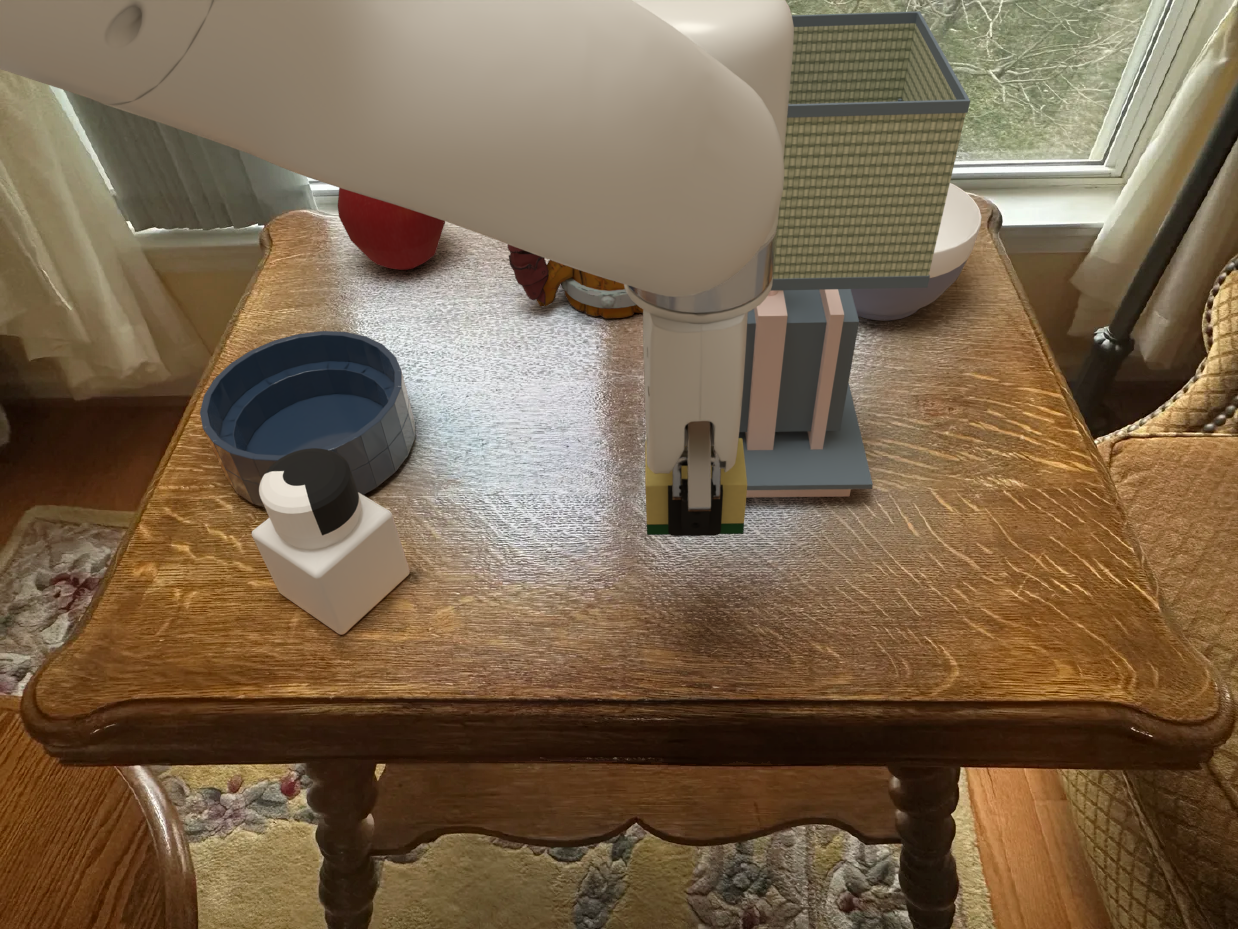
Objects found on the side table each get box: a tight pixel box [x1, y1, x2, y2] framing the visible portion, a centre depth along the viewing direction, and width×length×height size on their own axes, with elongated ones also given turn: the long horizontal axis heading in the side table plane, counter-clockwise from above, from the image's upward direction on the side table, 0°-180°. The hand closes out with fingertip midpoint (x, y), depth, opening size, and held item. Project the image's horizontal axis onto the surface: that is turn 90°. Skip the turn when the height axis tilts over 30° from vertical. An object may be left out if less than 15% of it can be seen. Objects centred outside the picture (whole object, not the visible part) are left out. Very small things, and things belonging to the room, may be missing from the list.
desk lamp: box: [739, 10, 971, 498], centre depth 68 cm, size 18×14×33 cm
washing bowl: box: [199, 330, 416, 508], centre depth 80 cm, size 16×16×6 cm
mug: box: [507, 244, 643, 319], centre depth 91 cm, size 11×16×15 cm, turn 113°
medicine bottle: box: [251, 448, 411, 636], centre depth 67 cm, size 7×7×12 cm
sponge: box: [644, 438, 747, 536], centre depth 58 cm, size 6×4×4 cm, turn 89°
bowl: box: [851, 182, 982, 322], centre depth 92 cm, size 16×16×10 cm
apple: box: [337, 187, 446, 271], centre depth 98 cm, size 11×11×12 cm
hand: (692, 501), depth 59 cm, fingers closed on sponge, 4 cm apart
